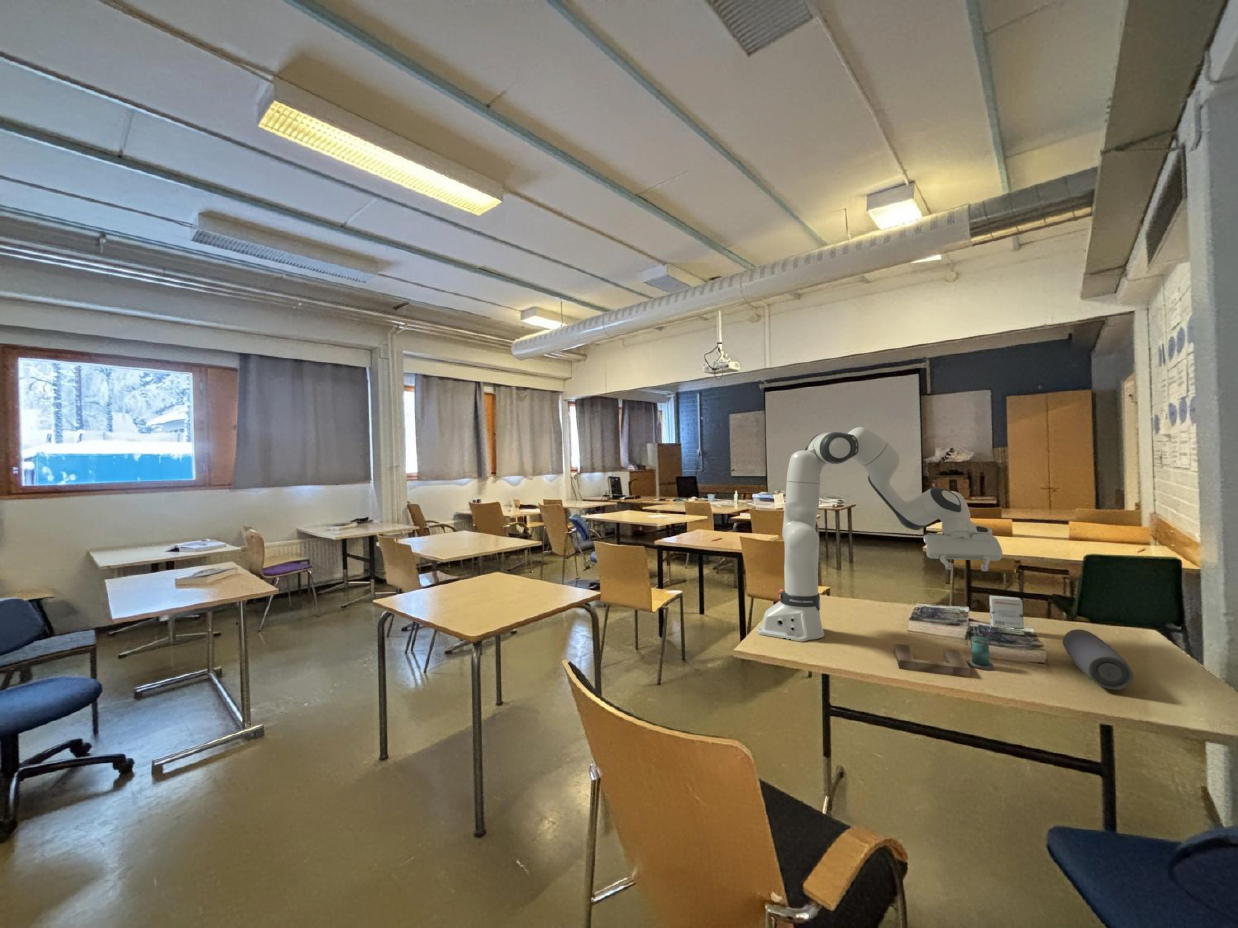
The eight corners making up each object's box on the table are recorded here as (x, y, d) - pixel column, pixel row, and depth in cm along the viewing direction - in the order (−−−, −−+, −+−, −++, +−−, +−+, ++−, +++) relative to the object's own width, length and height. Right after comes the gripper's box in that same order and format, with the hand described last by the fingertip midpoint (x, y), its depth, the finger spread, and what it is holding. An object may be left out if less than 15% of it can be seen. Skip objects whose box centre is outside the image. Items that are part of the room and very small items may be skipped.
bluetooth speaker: (1137, 698, 121) (1136, 657, 121) (1086, 690, 126) (1085, 651, 126) (1103, 664, 141) (1102, 629, 141) (1060, 659, 146) (1059, 625, 146)
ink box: (1021, 631, 169) (1020, 597, 169) (1024, 636, 165) (1023, 600, 165) (989, 628, 173) (988, 594, 173) (992, 632, 169) (991, 598, 169)
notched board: (899, 668, 142) (898, 659, 142) (894, 651, 155) (894, 643, 155) (970, 677, 135) (970, 668, 135) (959, 658, 148) (958, 650, 148)
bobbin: (970, 668, 141) (969, 640, 141) (965, 660, 146) (965, 633, 146) (996, 671, 138) (995, 642, 138) (990, 663, 144) (989, 635, 144)
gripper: (923, 527, 167) (929, 562, 158) (997, 528, 158) (1008, 565, 149) (921, 538, 171) (927, 573, 162) (994, 540, 162) (1004, 576, 153)
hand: (966, 569), depth 156 cm, fingers open, 8 cm apart
